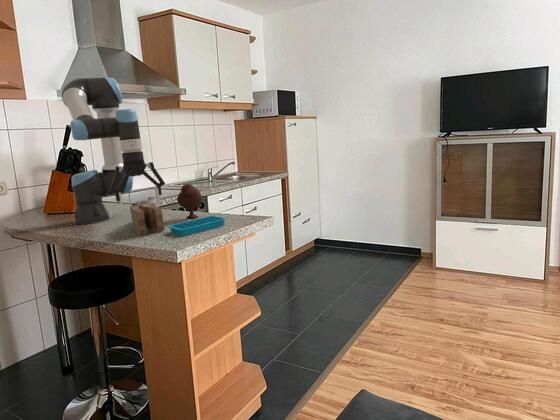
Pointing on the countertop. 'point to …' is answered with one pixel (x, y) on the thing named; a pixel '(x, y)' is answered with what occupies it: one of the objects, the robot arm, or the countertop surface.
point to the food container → (149, 201)
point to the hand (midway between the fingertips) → (140, 206)
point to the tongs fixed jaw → (138, 219)
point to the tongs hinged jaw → (153, 217)
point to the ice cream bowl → (189, 199)
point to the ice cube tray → (197, 225)
